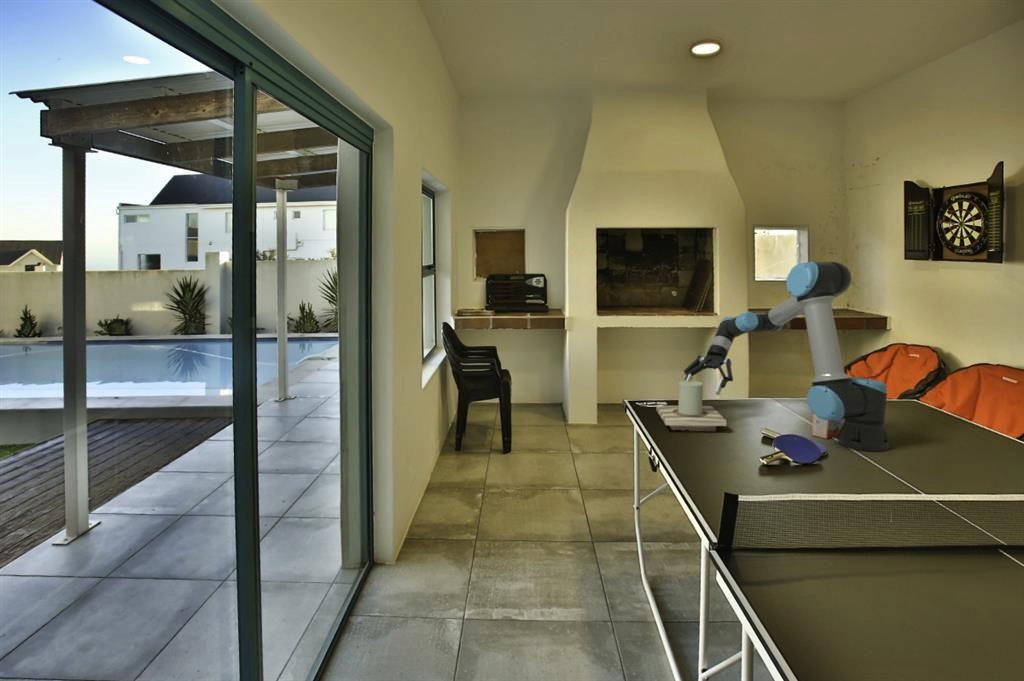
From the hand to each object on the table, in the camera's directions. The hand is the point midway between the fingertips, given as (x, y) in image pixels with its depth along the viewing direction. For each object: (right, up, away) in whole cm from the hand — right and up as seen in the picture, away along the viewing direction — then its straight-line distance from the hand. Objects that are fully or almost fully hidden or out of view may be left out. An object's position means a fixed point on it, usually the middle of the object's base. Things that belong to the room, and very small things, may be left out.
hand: (700, 391), depth 230 cm
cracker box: (+41, -15, -19) cm, 47 cm away
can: (-6, -8, -5) cm, 11 cm away
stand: (-6, -13, -5) cm, 15 cm away
